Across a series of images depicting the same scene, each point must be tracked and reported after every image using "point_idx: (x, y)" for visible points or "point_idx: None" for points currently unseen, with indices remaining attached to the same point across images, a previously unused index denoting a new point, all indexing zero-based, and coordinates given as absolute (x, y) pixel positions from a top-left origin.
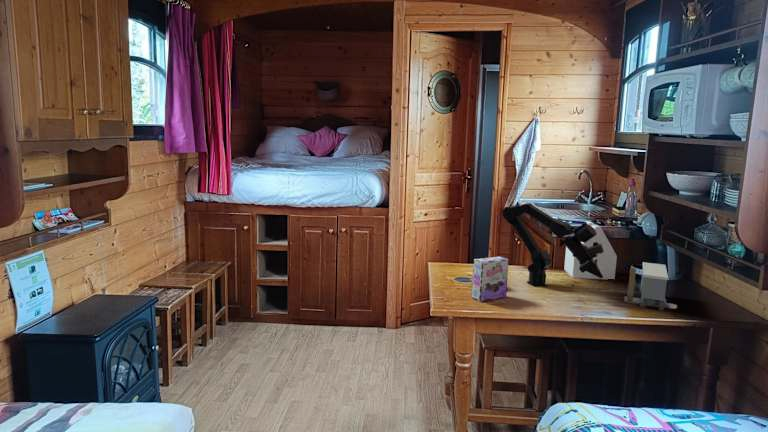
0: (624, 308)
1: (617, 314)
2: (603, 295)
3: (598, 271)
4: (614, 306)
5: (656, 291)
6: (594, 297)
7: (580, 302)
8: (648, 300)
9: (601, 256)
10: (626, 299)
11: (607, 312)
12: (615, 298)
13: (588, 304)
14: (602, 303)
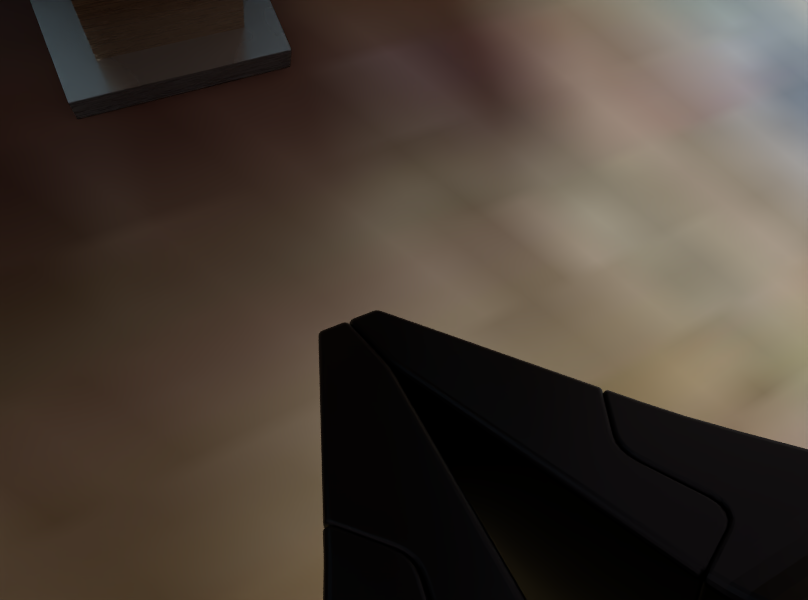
0: (526, 2)
1: (751, 5)
2: (209, 390)
3: (579, 408)
4: (558, 100)
5: None
6: None
7: (779, 440)
8: None
9: None
10: (226, 40)
11: (787, 89)
12: (214, 203)
13: (755, 335)
14: (579, 238)
